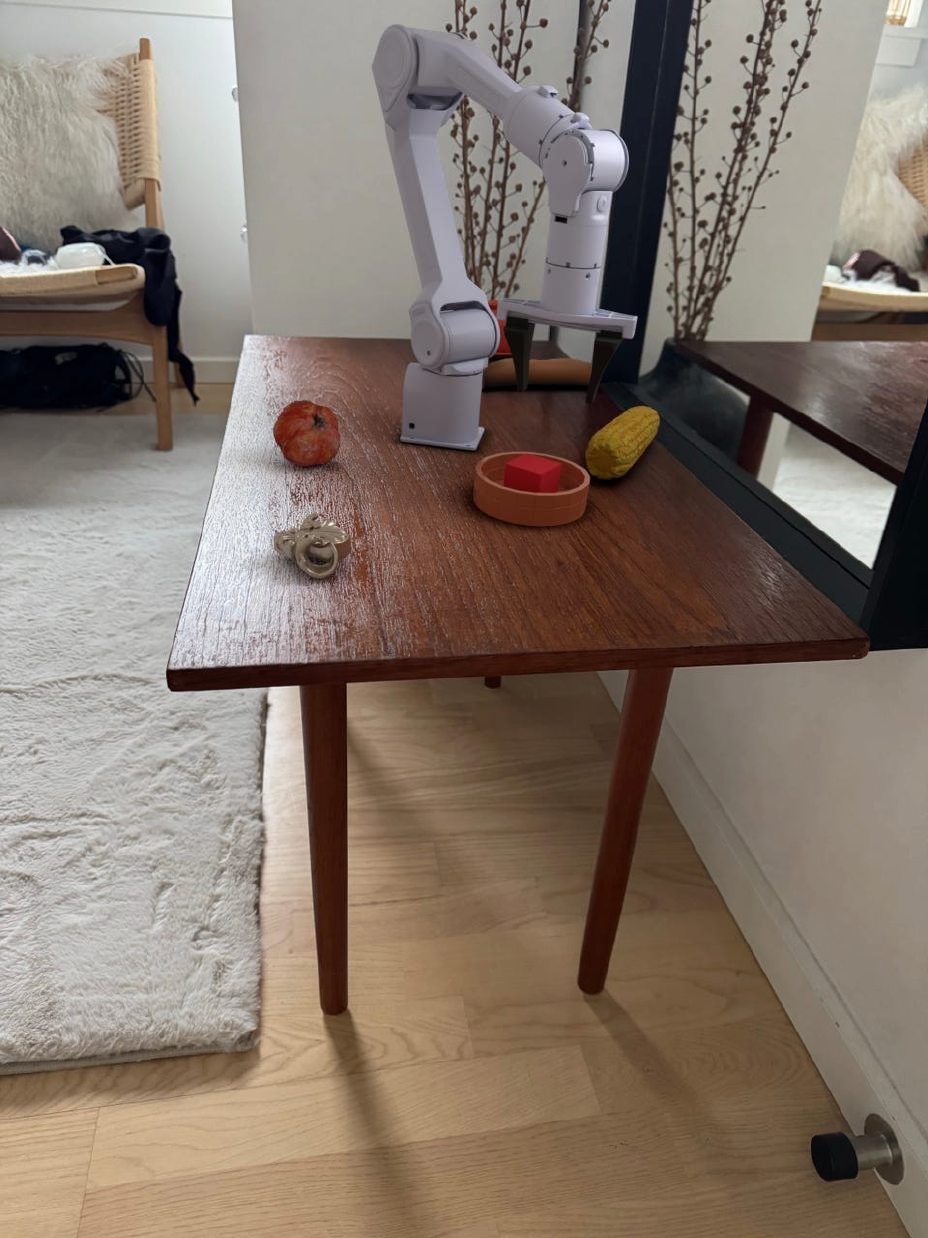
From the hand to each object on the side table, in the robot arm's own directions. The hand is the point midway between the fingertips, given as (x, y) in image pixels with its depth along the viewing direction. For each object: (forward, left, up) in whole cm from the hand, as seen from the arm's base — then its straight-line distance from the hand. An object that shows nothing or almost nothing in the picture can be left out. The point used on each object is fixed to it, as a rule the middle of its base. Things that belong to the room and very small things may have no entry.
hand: (555, 395), depth 97 cm
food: (+9, +10, -10) cm, 17 cm away
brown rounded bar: (-5, +38, -10) cm, 40 cm away
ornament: (-19, -27, -10) cm, 35 cm away
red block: (-1, -7, -9) cm, 12 cm away
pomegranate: (-27, -4, -10) cm, 29 cm away
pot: (-1, -7, -10) cm, 12 cm away
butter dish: (-14, +54, -10) cm, 57 cm away
